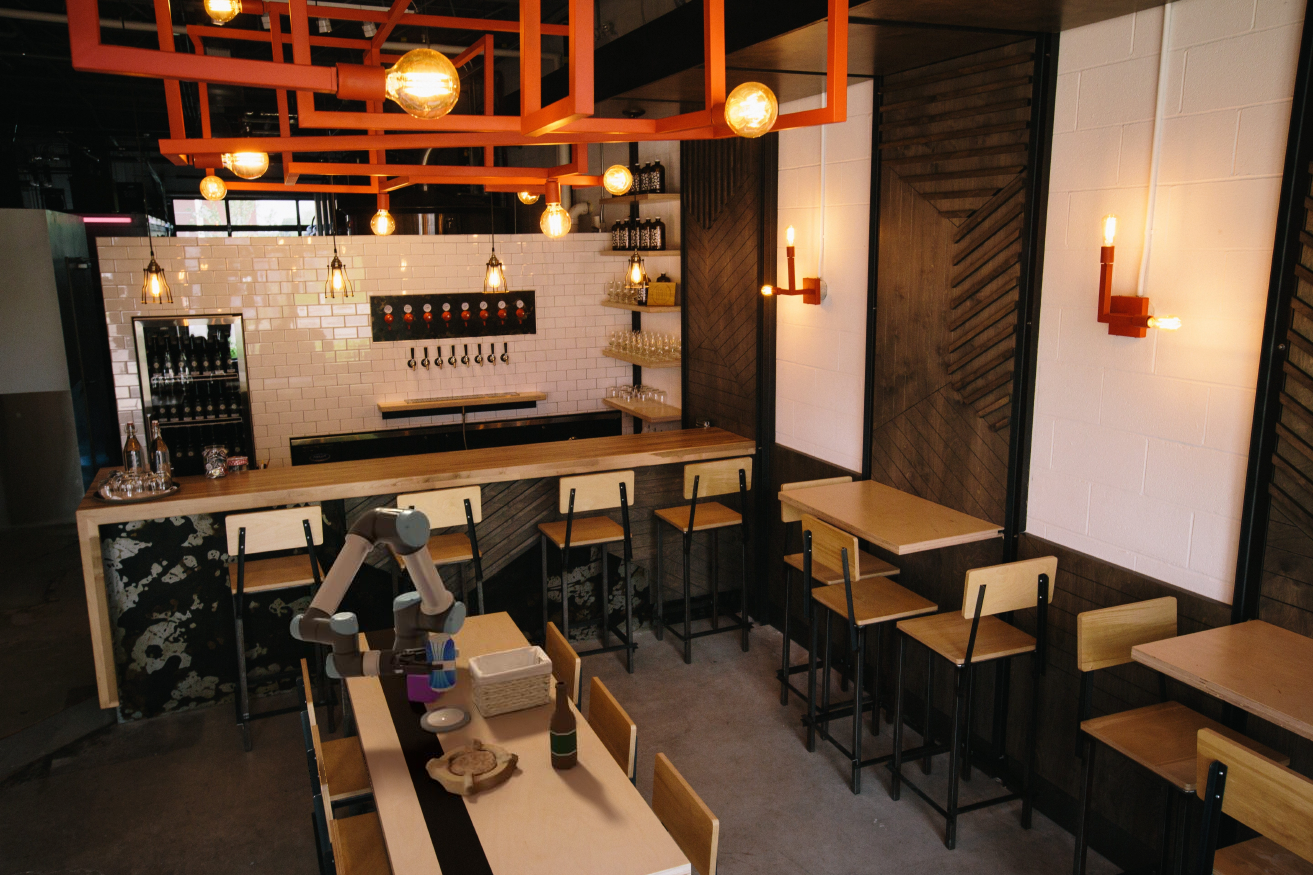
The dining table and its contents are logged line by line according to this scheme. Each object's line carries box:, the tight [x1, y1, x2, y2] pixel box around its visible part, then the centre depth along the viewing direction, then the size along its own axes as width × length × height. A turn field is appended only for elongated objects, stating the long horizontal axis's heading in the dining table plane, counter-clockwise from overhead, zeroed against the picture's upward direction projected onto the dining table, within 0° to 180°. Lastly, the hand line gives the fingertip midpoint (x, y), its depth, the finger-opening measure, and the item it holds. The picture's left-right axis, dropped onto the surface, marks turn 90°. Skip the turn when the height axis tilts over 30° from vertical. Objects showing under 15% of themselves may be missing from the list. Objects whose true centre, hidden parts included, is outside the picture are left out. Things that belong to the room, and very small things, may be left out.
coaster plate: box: [420, 705, 472, 734], centre depth 268 cm, size 15×15×1 cm
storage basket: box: [468, 645, 553, 718], centre depth 278 cm, size 24×16×15 cm
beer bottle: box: [549, 680, 578, 771], centre depth 241 cm, size 8×8×24 cm
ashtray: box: [425, 737, 519, 796], centre depth 239 cm, size 24×24×5 cm
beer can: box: [426, 633, 458, 692], centre depth 265 cm, size 8×8×16 cm
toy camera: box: [406, 675, 446, 704], centre depth 285 cm, size 11×14×10 cm
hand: (456, 658), depth 265 cm, fingers closed on beer can, 8 cm apart
